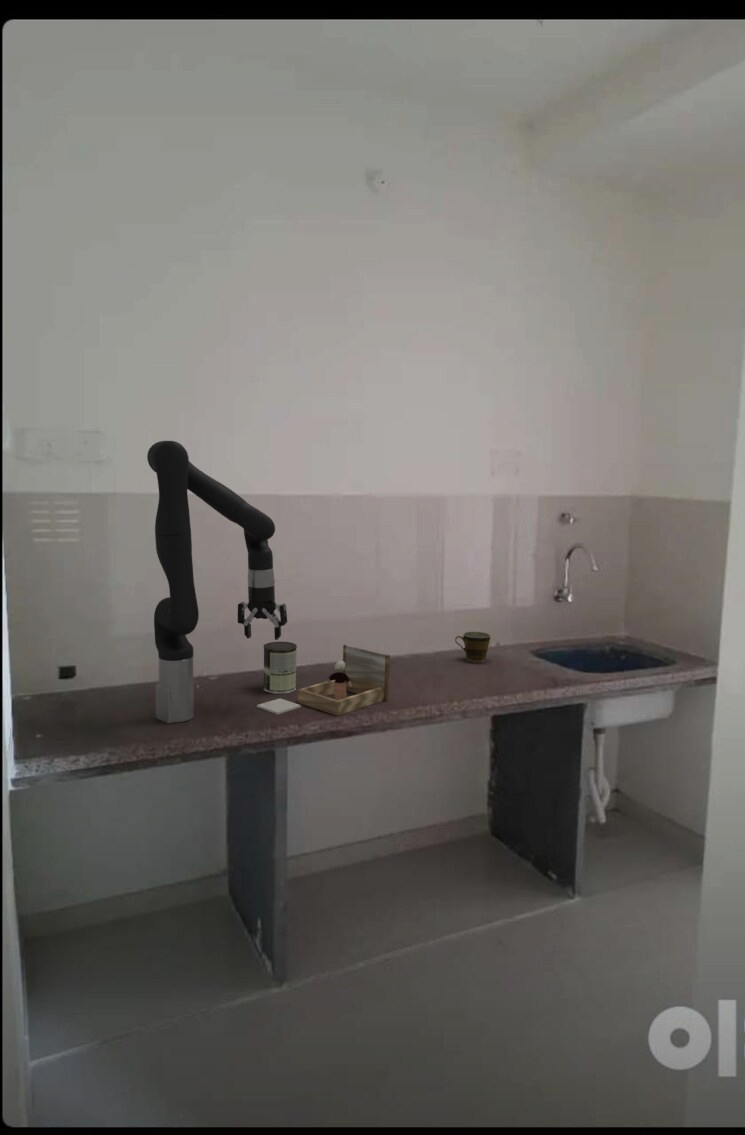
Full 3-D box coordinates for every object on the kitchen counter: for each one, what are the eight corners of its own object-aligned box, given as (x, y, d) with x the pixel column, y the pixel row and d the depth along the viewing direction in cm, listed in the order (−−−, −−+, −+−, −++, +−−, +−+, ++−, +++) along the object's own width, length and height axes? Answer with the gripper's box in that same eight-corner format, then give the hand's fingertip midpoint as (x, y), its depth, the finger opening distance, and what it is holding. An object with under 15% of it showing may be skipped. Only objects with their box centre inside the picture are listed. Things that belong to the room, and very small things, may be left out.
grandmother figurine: (352, 700, 222) (353, 659, 220) (351, 704, 218) (352, 663, 216) (327, 699, 223) (328, 658, 221) (325, 703, 219) (326, 661, 217)
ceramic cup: (486, 657, 278) (487, 631, 276) (491, 664, 268) (493, 637, 266) (451, 657, 277) (453, 631, 275) (456, 664, 267) (457, 637, 266)
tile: (277, 714, 208) (277, 712, 208) (256, 707, 214) (256, 705, 214) (300, 707, 215) (300, 705, 215) (280, 700, 221) (280, 698, 220)
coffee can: (256, 690, 230) (256, 646, 228) (277, 682, 239) (277, 639, 237) (282, 696, 225) (283, 651, 223) (302, 687, 233) (303, 644, 232)
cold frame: (340, 716, 208) (341, 668, 206) (295, 701, 219) (296, 656, 218) (388, 700, 224) (390, 655, 222) (344, 687, 235) (345, 644, 234)
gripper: (232, 585, 208) (234, 640, 211) (281, 587, 206) (282, 643, 209) (242, 580, 215) (244, 633, 218) (288, 581, 213) (290, 636, 216)
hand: (262, 638), depth 214 cm, fingers open, 8 cm apart
